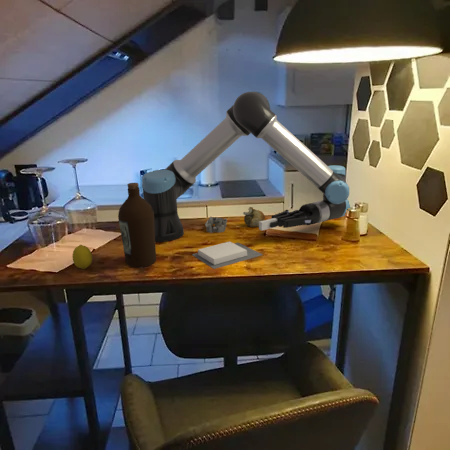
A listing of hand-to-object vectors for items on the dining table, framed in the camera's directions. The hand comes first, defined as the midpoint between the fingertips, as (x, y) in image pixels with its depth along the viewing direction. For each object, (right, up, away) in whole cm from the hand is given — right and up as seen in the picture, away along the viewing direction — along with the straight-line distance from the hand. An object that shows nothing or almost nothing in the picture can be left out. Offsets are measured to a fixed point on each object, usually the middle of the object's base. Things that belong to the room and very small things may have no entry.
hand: (260, 226), depth 134 cm
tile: (-7, -7, -3) cm, 11 cm away
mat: (-11, -10, -4) cm, 15 cm away
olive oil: (-38, -11, -6) cm, 40 cm away
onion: (0, -1, +24) cm, 24 cm away
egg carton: (-15, -1, +23) cm, 28 cm away
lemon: (-54, -13, -10) cm, 57 cm away
